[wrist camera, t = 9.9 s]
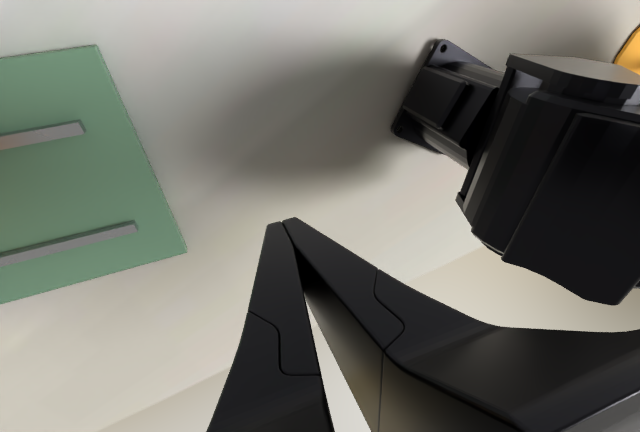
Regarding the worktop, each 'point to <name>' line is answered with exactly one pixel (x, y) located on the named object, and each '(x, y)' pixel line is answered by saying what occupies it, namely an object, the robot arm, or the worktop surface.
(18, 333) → the worktop surface
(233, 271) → the worktop surface
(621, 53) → the cup
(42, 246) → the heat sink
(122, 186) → the board
